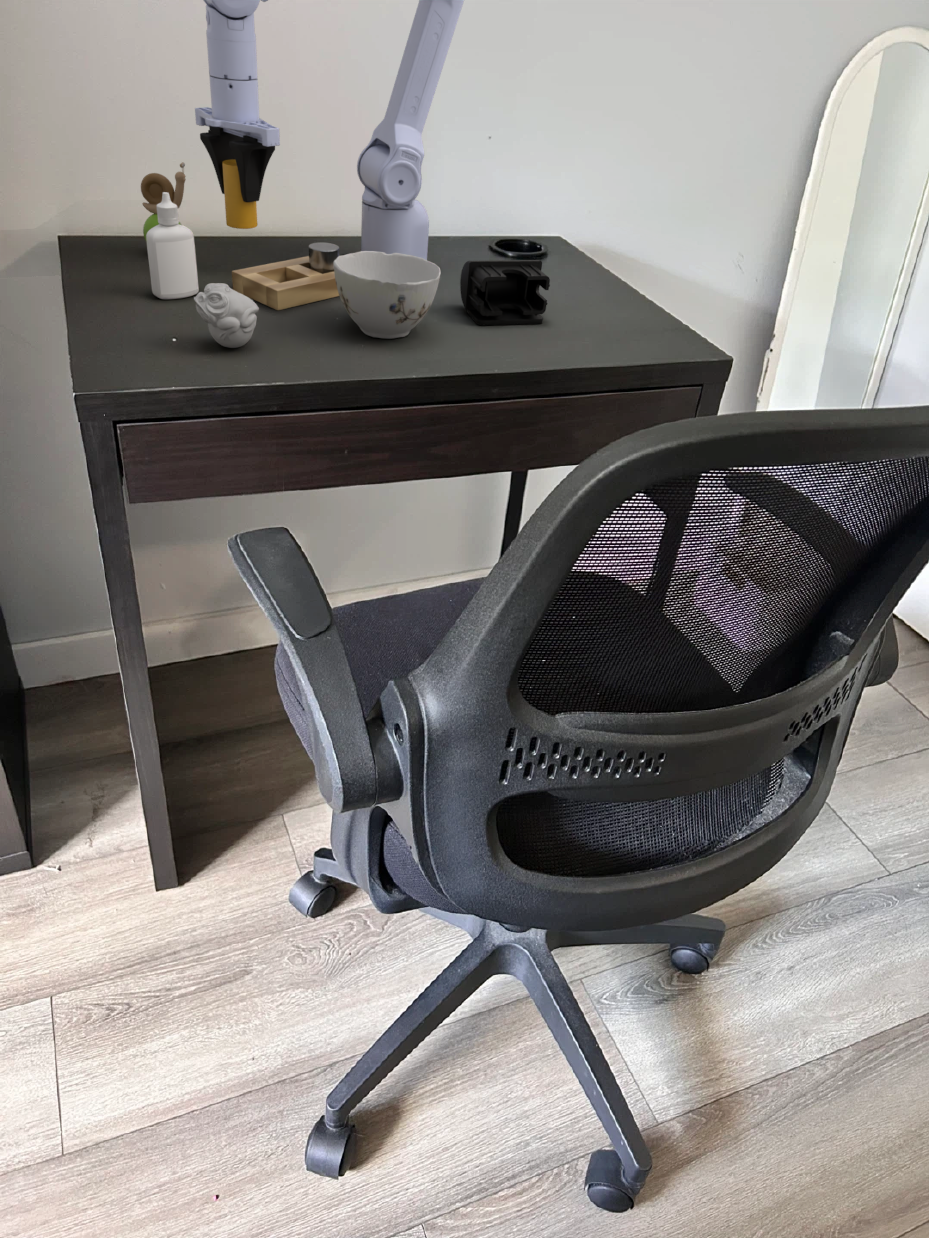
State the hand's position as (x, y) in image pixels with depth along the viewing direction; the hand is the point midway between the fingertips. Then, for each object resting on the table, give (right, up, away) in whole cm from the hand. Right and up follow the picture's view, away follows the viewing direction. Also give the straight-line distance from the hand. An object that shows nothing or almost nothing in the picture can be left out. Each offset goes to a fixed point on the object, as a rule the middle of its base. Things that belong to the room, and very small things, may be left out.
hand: (240, 197), depth 119 cm
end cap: (+34, -15, +1) cm, 37 cm away
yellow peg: (0, -3, +2) cm, 3 cm away
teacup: (+19, -19, -6) cm, 28 cm away
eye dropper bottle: (-7, -14, -3) cm, 16 cm away
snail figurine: (-12, -4, +10) cm, 16 cm away
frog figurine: (+3, -24, -15) cm, 29 cm away
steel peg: (+10, -10, +5) cm, 15 cm away
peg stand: (+8, -11, +3) cm, 14 cm away
